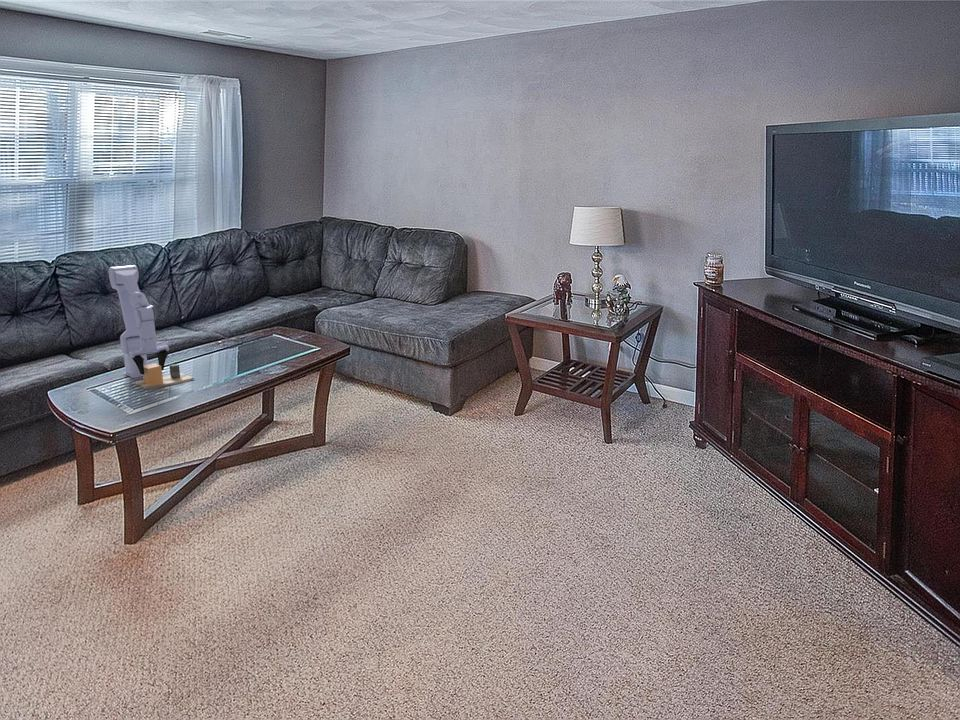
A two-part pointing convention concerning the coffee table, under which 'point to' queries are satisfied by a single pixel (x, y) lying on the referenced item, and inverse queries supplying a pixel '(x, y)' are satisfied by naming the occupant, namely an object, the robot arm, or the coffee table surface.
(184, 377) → the post board
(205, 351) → the coffee table surface
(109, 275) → the robot arm
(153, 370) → the orange rectangular block
